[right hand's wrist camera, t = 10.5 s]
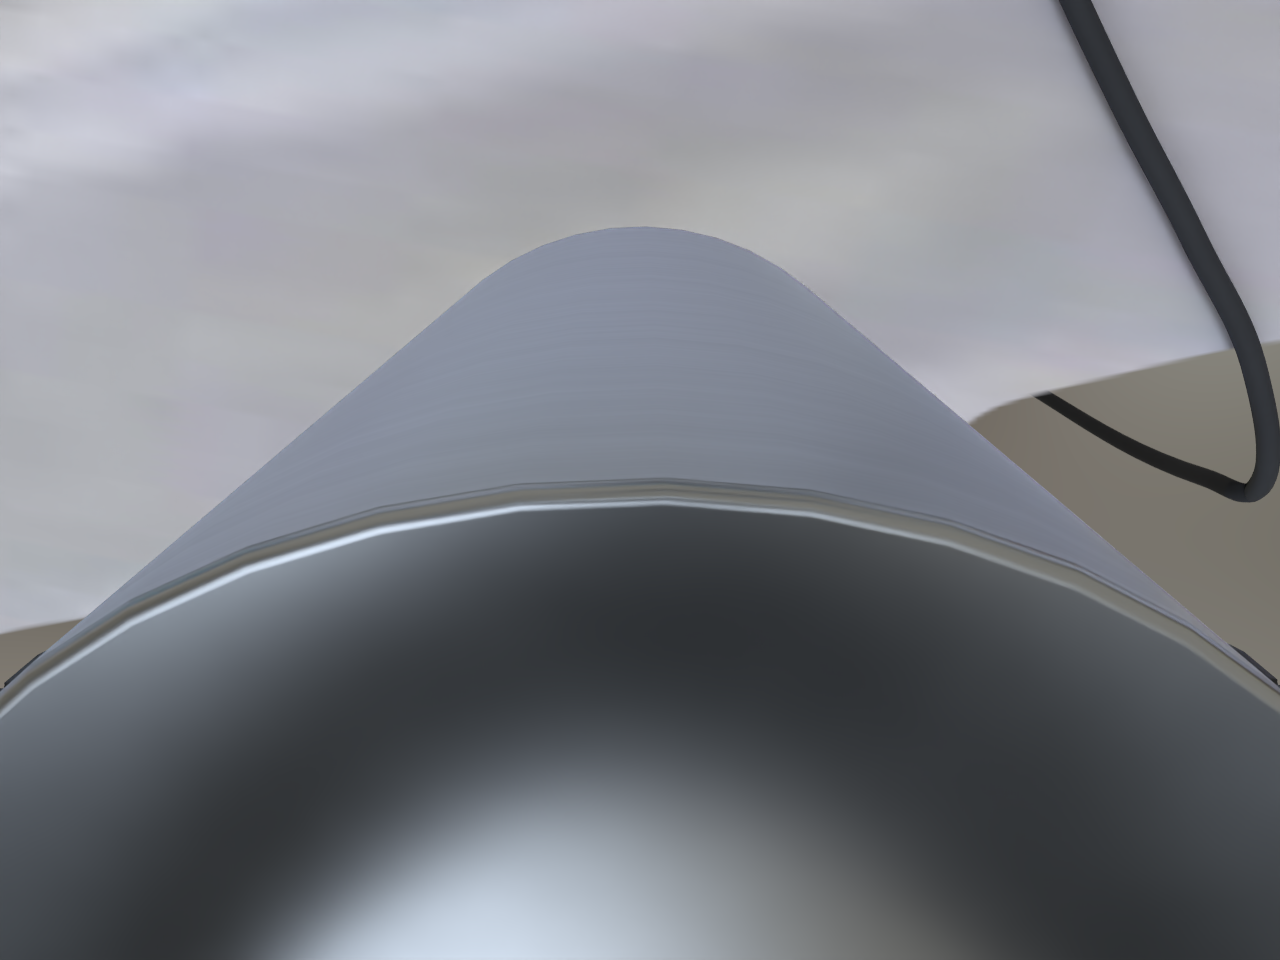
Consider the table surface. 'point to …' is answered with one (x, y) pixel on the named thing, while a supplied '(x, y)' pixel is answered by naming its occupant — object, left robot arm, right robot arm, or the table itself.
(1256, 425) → the right robot arm
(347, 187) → the table surface
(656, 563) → the canister
